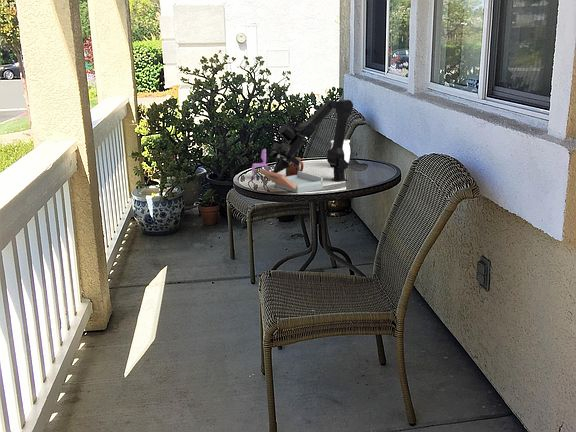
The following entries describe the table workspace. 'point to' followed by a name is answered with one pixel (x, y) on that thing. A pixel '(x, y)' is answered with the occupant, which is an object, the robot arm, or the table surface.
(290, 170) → the mug
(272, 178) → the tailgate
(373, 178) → the table surface
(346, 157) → the jar
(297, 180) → the bed
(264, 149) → the toy chair
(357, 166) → the table surface
